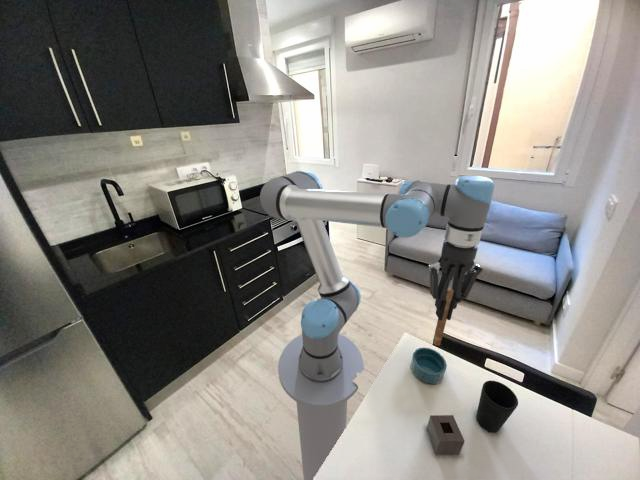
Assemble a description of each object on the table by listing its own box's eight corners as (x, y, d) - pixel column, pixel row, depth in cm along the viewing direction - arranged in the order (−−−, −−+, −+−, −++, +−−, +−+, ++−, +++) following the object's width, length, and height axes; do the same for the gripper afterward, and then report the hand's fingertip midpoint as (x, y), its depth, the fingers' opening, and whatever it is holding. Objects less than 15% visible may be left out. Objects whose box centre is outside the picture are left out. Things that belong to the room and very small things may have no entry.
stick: (434, 345, 76) (447, 290, 68) (432, 341, 78) (445, 287, 69) (440, 345, 76) (453, 290, 68) (438, 341, 78) (451, 287, 69)
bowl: (404, 370, 86) (406, 359, 83) (419, 352, 92) (422, 342, 90) (434, 391, 79) (437, 380, 77) (448, 371, 85) (451, 360, 83)
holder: (435, 454, 64) (439, 441, 62) (426, 428, 70) (430, 415, 67) (459, 454, 64) (464, 441, 61) (448, 428, 69) (453, 415, 67)
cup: (479, 402, 76) (490, 375, 70) (508, 424, 70) (523, 396, 65) (466, 419, 71) (477, 391, 66) (496, 444, 66) (510, 416, 61)
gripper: (436, 249, 59) (421, 326, 69) (501, 248, 59) (476, 326, 69) (425, 235, 66) (412, 307, 76) (482, 235, 65) (462, 307, 76)
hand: (442, 316), depth 72 cm, fingers closed on stick, 2 cm apart
